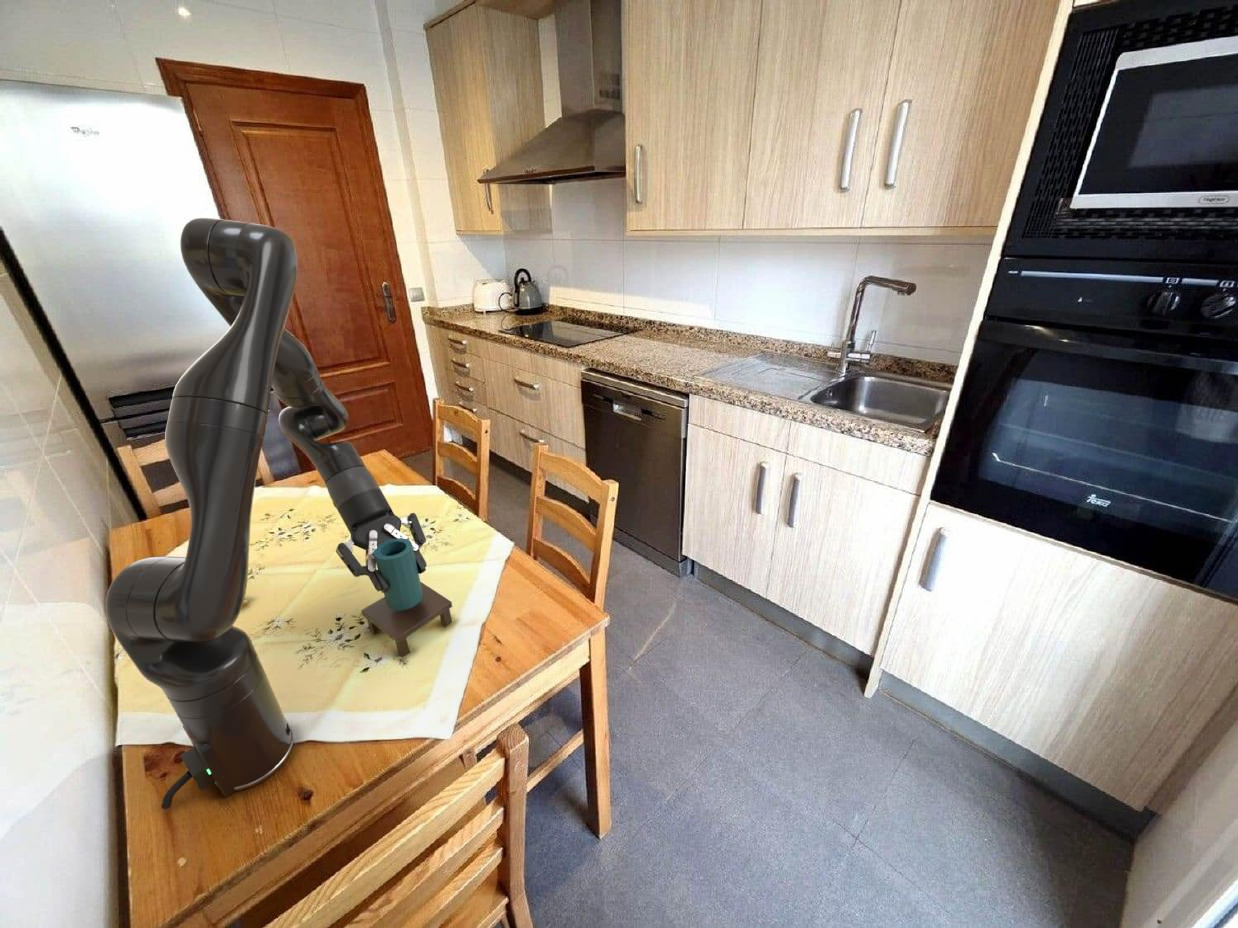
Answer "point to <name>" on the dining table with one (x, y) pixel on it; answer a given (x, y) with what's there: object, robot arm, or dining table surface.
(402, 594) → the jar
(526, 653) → the dining table surface
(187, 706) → the robot arm
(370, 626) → the stand
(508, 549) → the dining table surface
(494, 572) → the dining table surface
